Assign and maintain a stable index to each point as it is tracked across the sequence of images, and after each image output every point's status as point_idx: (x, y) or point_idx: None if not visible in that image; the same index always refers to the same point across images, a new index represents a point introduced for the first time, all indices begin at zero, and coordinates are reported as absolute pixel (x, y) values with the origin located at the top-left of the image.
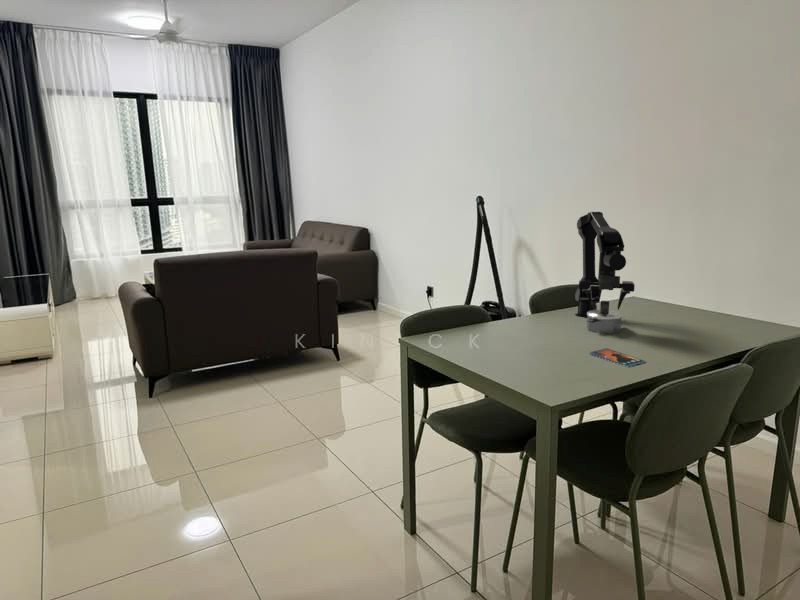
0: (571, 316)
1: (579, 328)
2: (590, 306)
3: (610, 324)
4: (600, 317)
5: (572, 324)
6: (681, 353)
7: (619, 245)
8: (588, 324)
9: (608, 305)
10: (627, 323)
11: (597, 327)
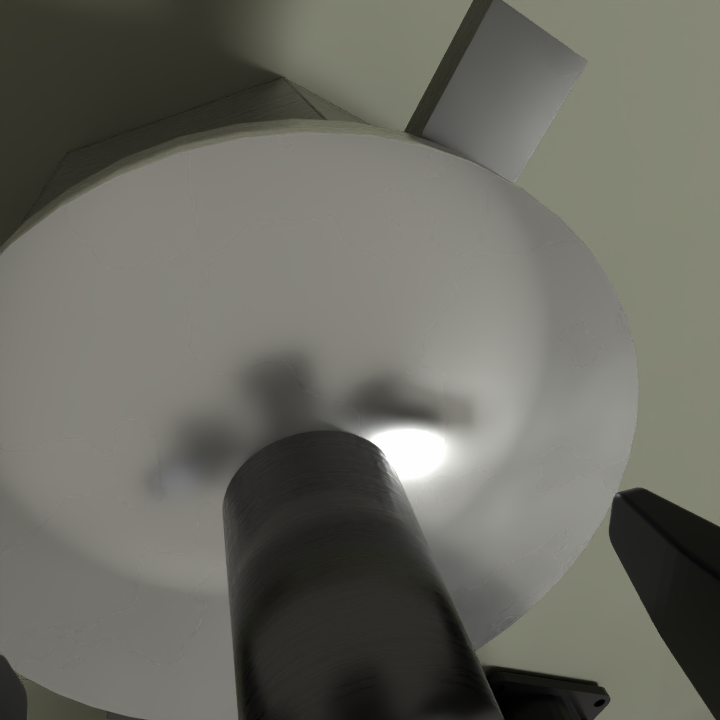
0: (635, 643)
1: (585, 238)
2: (671, 502)
3: None
4: (343, 132)
5: (654, 387)
6: None
7: None
8: None
9: (246, 658)
10: (67, 706)
11: (345, 115)
